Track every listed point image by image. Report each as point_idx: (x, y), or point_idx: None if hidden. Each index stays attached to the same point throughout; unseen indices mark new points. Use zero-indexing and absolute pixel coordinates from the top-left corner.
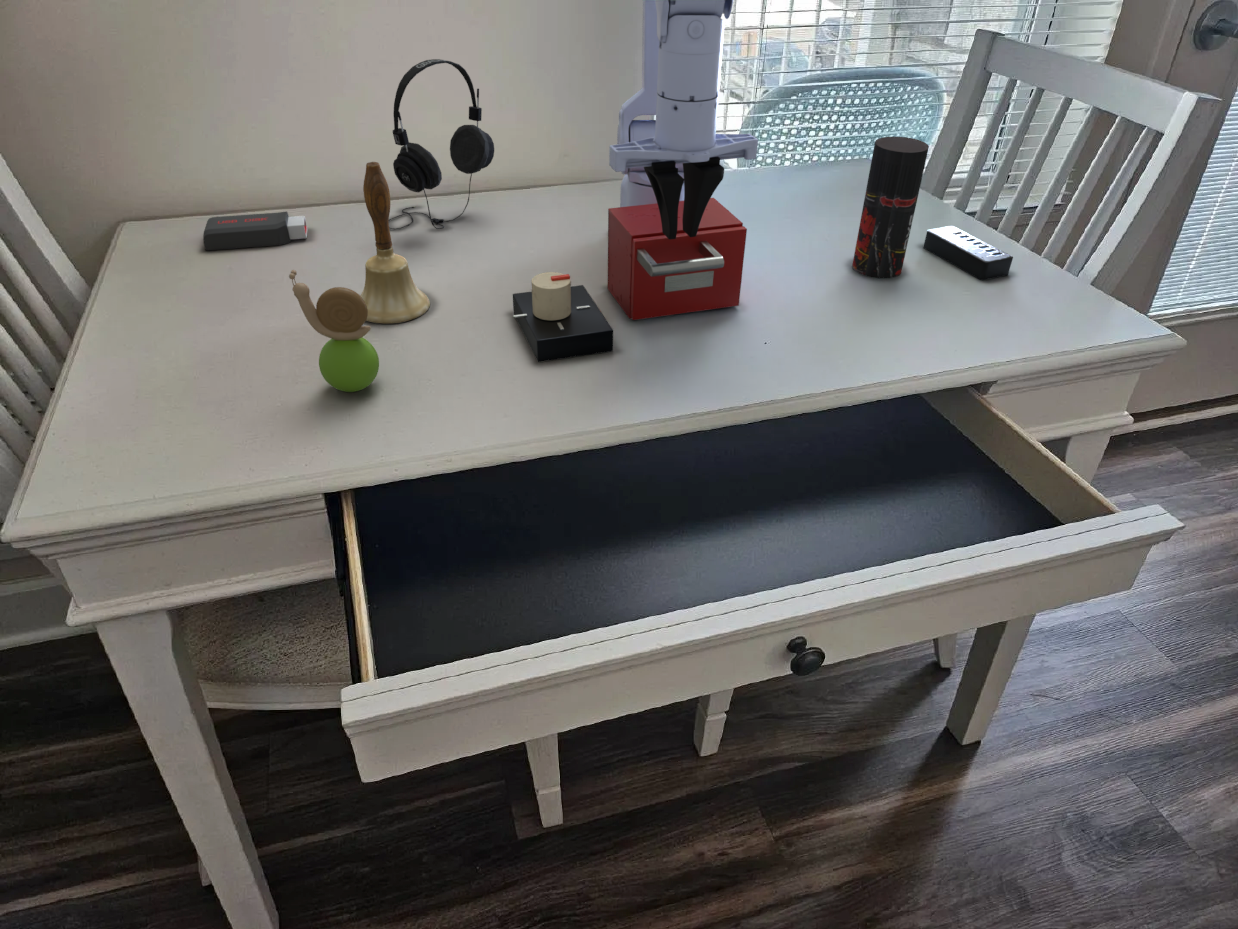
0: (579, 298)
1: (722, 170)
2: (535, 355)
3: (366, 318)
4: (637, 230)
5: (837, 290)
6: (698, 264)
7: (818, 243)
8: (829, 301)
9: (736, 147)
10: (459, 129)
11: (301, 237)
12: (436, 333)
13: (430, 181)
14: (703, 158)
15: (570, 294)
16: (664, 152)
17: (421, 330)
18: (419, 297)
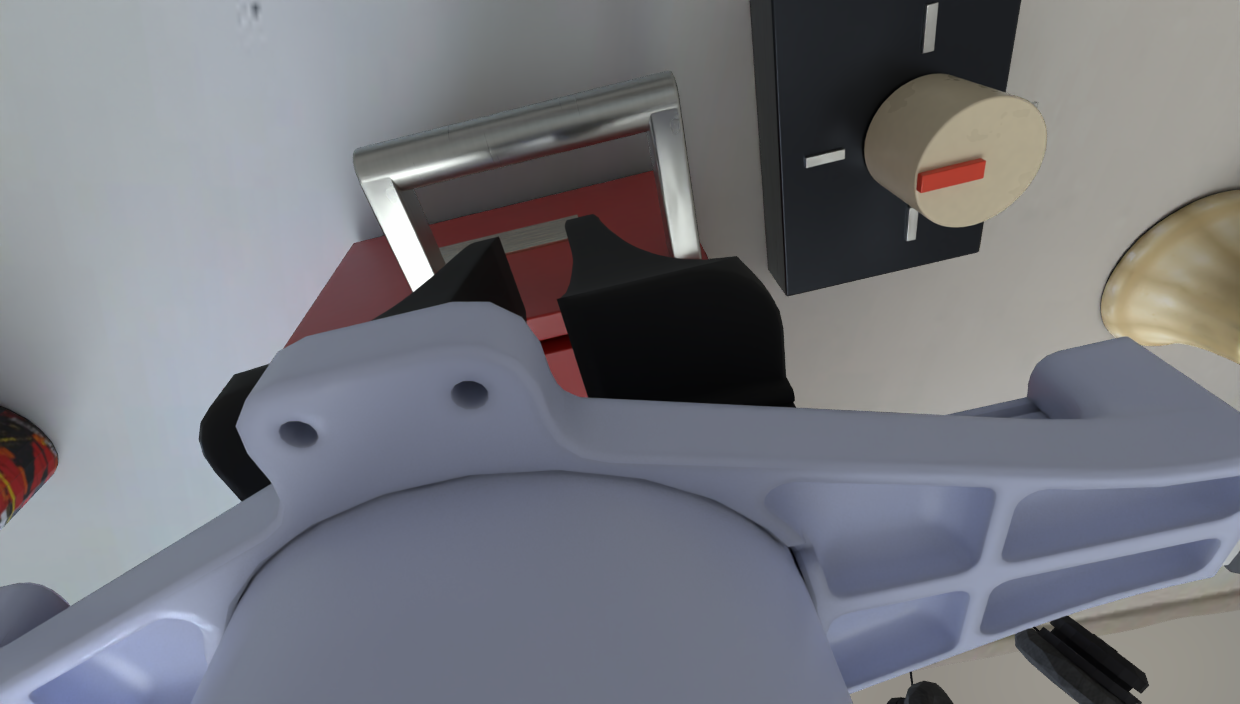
0: (816, 219)
1: (209, 411)
2: None
3: None
4: None
5: (71, 335)
6: (467, 128)
7: (170, 543)
8: (82, 275)
9: (23, 648)
10: None
11: None
12: (1159, 136)
13: (1055, 636)
14: (330, 348)
15: (899, 139)
16: (807, 457)
17: (1184, 155)
18: (1159, 274)
